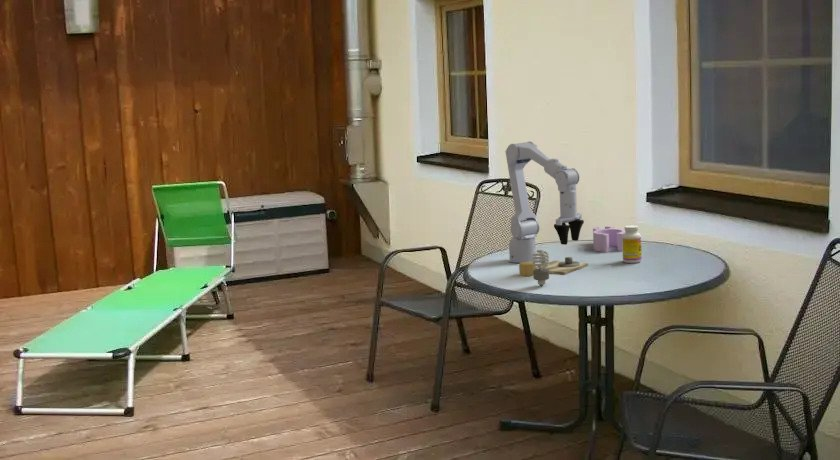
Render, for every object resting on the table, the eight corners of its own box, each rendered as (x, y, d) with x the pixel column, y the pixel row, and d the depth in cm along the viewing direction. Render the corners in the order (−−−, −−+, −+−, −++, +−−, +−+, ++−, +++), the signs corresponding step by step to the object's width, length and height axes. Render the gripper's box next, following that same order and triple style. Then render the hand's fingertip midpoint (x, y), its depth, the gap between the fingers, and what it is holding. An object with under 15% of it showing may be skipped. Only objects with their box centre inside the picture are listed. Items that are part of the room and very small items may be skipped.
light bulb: (531, 284, 320) (530, 249, 318) (548, 283, 320) (546, 247, 318) (535, 288, 314) (533, 252, 312) (552, 287, 315) (550, 250, 313)
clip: (586, 244, 385) (585, 227, 384) (617, 242, 386) (616, 225, 384) (598, 253, 365) (598, 235, 364) (631, 251, 366) (630, 233, 365)
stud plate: (530, 271, 341) (530, 261, 340) (554, 262, 353) (554, 253, 352) (565, 274, 332) (564, 264, 331) (588, 265, 344) (588, 256, 343)
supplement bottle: (641, 263, 342) (641, 227, 340) (622, 263, 344) (621, 228, 341) (641, 259, 349) (640, 224, 347) (622, 260, 350) (621, 225, 348)
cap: (516, 275, 336) (516, 264, 335) (525, 272, 340) (524, 261, 339) (530, 276, 332) (529, 265, 331) (538, 273, 336) (538, 262, 335)
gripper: (567, 207, 327) (569, 246, 329) (588, 201, 338) (589, 239, 341) (549, 206, 332) (551, 245, 334) (571, 200, 343) (572, 238, 345)
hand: (569, 242), depth 337 cm, fingers open, 7 cm apart
